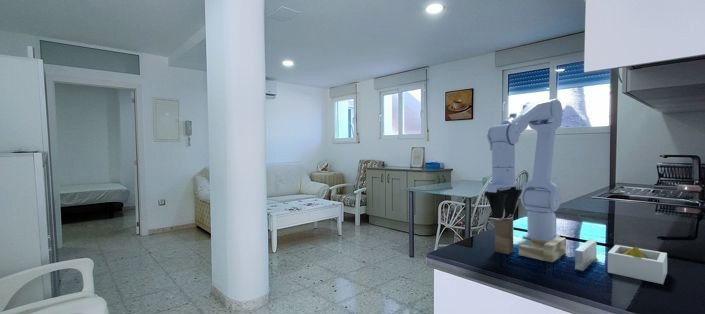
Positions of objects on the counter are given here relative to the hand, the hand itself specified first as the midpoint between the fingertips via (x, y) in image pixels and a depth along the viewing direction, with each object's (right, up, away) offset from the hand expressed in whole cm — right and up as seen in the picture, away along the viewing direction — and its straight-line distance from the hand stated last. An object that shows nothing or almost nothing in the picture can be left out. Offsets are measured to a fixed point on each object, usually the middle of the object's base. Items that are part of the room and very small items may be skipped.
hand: (503, 216), depth 87 cm
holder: (+22, -10, -16) cm, 29 cm away
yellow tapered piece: (+22, -10, -16) cm, 29 cm away
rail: (+16, -10, -10) cm, 21 cm away
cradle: (+9, -10, -3) cm, 14 cm away
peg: (0, -10, 0) cm, 10 cm away
